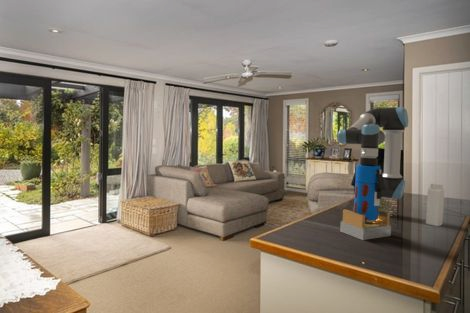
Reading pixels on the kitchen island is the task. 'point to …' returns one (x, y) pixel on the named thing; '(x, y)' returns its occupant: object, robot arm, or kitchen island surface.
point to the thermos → (366, 191)
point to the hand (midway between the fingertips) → (366, 203)
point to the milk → (435, 205)
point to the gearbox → (365, 225)
